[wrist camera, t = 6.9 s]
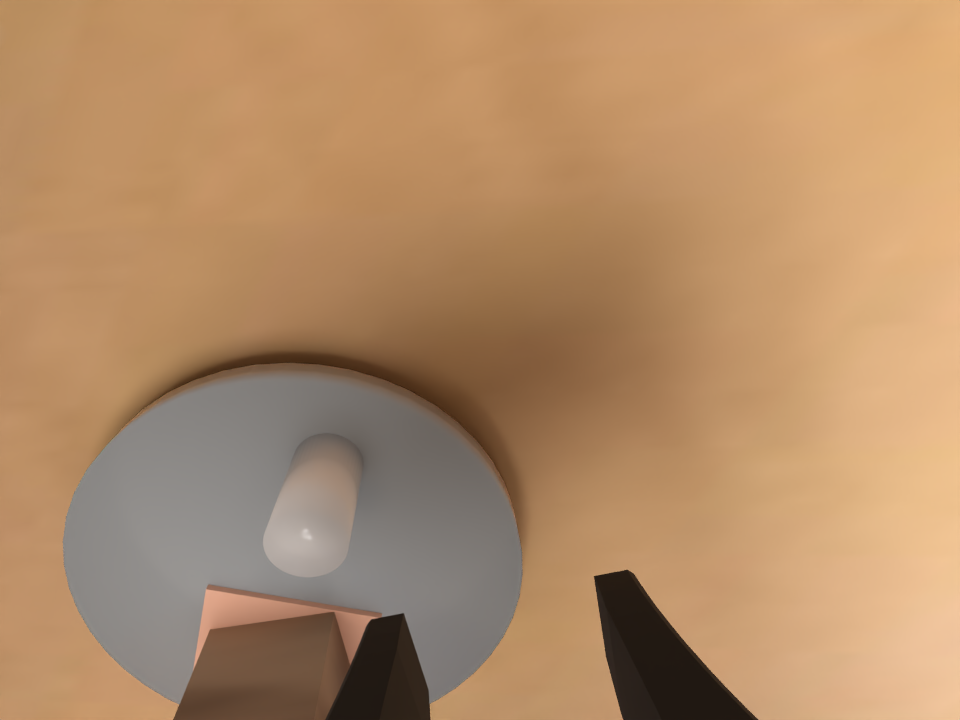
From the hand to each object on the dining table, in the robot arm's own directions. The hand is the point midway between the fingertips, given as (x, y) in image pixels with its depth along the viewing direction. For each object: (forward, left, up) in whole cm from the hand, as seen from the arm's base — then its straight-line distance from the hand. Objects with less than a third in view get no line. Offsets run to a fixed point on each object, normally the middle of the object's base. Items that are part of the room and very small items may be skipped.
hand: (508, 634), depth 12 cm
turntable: (-7, +4, -9) cm, 12 cm away
